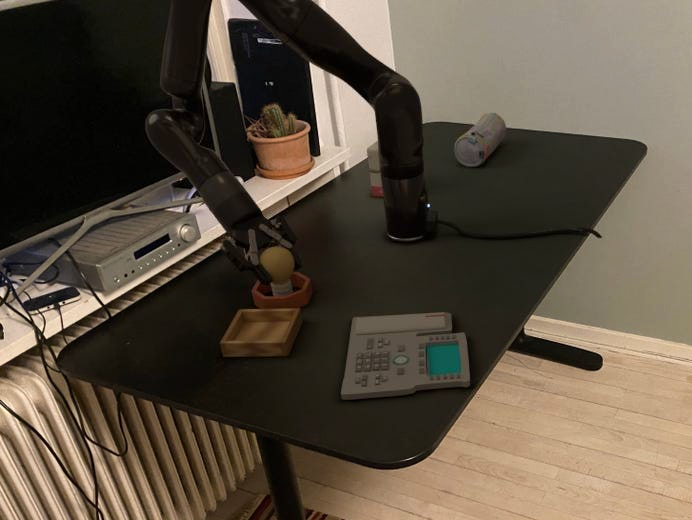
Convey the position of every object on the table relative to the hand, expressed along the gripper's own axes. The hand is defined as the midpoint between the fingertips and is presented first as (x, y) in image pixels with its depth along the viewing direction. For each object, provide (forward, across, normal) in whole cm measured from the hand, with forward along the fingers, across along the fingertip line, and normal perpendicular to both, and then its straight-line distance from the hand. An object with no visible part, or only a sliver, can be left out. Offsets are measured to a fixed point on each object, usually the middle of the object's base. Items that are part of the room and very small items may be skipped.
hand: (284, 275), depth 135 cm
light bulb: (+2, 0, +5) cm, 5 cm away
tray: (+8, -12, -1) cm, 14 cm away
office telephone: (+26, -1, -18) cm, 31 cm away
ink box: (-11, +51, +19) cm, 56 cm away
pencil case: (-8, +84, +16) cm, 86 cm away
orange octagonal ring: (+3, 0, +5) cm, 6 cm away
